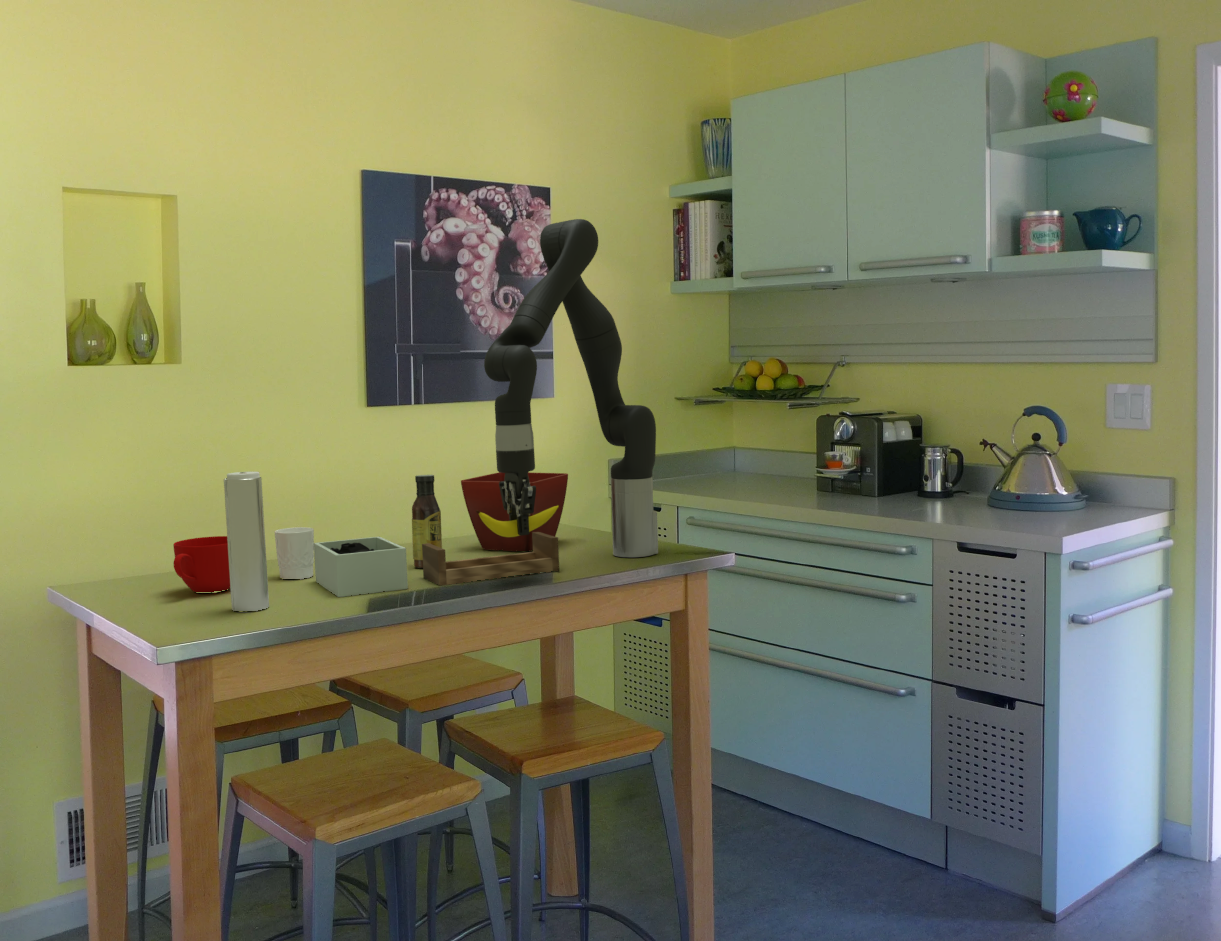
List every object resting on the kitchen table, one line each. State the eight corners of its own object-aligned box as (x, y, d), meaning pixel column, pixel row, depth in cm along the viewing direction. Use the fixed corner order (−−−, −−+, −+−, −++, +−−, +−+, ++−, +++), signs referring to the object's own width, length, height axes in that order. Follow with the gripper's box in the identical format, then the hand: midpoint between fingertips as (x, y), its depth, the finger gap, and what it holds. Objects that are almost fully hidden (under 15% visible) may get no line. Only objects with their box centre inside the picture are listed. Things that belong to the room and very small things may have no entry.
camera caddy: (381, 574, 236) (379, 536, 235) (407, 588, 219) (405, 548, 219) (315, 581, 230) (313, 542, 229) (338, 597, 213) (336, 555, 212)
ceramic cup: (149, 601, 215) (145, 549, 214) (203, 583, 231) (200, 535, 230) (207, 602, 212) (204, 550, 211) (258, 585, 228) (255, 536, 227)
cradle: (539, 563, 242) (538, 531, 242) (559, 570, 233) (558, 537, 233) (423, 577, 230) (421, 543, 230) (439, 585, 222) (437, 550, 221)
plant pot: (533, 555, 253) (530, 481, 251) (461, 552, 261) (458, 480, 260) (572, 542, 270) (570, 472, 269) (503, 539, 278) (501, 471, 277)
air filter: (236, 605, 208) (228, 471, 206) (272, 604, 209) (264, 470, 206) (228, 613, 202) (219, 474, 199) (264, 611, 202) (256, 473, 200)
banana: (563, 530, 228) (562, 499, 227) (482, 543, 217) (480, 510, 216) (555, 528, 230) (554, 498, 229) (474, 541, 219) (472, 509, 218)
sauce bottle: (436, 569, 239) (432, 476, 238) (409, 569, 241) (404, 476, 239) (447, 563, 246) (443, 473, 244) (420, 563, 247) (416, 473, 245)
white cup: (324, 574, 237) (321, 527, 236) (299, 581, 230) (296, 533, 229) (294, 572, 241) (291, 526, 240) (269, 579, 233) (266, 532, 233)
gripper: (547, 447, 217) (551, 536, 219) (518, 443, 229) (523, 527, 231) (511, 451, 213) (516, 540, 215) (484, 446, 226) (489, 531, 228)
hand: (519, 533), depth 223 cm, fingers closed on banana, 3 cm apart
